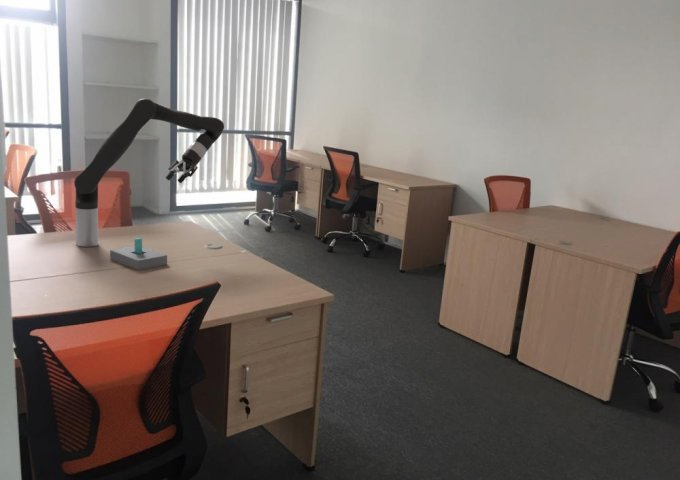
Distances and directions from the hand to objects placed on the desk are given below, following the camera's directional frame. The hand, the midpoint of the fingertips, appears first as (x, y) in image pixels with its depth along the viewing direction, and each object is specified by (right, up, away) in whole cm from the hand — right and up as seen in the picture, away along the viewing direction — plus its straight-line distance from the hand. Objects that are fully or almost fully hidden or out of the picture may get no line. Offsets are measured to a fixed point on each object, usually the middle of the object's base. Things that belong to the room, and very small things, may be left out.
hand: (173, 180), depth 260 cm
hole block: (-11, -36, -11) cm, 39 cm away
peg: (-11, -35, -11) cm, 39 cm away
